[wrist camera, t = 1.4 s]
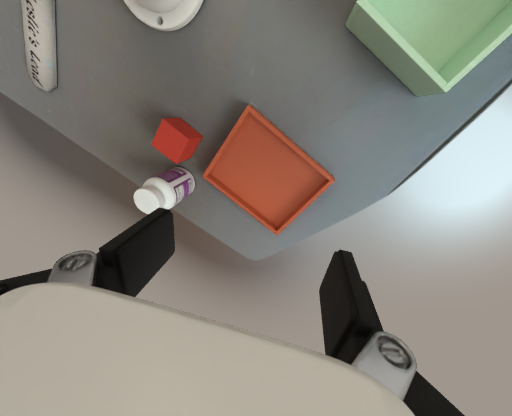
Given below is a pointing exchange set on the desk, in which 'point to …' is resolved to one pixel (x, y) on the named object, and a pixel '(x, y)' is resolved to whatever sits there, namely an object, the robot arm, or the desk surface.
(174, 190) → the pill bottle
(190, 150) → the red block
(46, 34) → the nameplate
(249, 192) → the orange tray
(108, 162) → the desk surface
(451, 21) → the sage bin
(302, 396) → the robot arm
